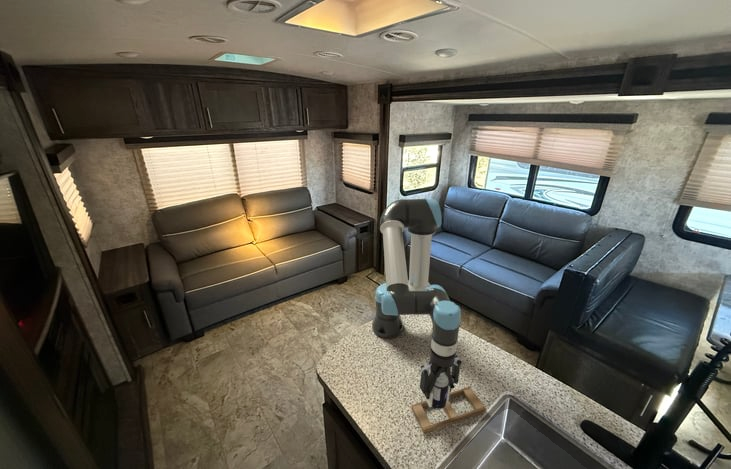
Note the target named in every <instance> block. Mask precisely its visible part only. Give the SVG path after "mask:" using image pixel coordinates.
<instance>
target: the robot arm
mask: <svg viewBox="0 0 731 469" xmlns="http://www.w3.org/2000/svg"><path fill="white" fill-rule="evenodd" d="M441 226H442V211H441V207H440V204H439V202H438V201H437V200H436V199H433V198H413V199H410V198H409V199H402V198H401V199H397V200H395V201H392V202H390V204H388V205H387V207H386V208H385V209H384V210H383V212H382V213H381V216H380V219H379V230H380V233H381V234H382V239H383V242H382V243H383V252H384V253H383V256H384V269H385V270H384V271H385V283H382V284H380V285H379V286H378V287H377V288H376V290H375V296H374V299H375V315H374V317H373V318H372V319H373V320H372V323H371V329H372V331H373V333H374V334H375V335H376V336H377V337H379V338H382V339H395V338H398V337H399V336H400V335H401V334H402V333H403V331H404V323H403V319H402V318H401V316H409V315H411V316H413V315H414V316H415V315H416V316H418V315H420V316H423V315H425V316H426V315H429V317H430V320H431V322H432V330H431V337H430V338H431V339H430V349H429V351H430V352H429V362H428V364H427V365H424V364H422V365H421V366H420V370H421V374H420V380H419V388H420V391H421V393H422V394H423V395H424V397H425V401H427V403H428V407H429V408H432V407H433V406H432V401H433V392H432V389H433V387H434V384H435V382H436V380H437V378H439V376H440V374H441V373H445V374H446V376H447V377H448V380H449V385H448V392H447V400H446V402H448V401H449V400H450V399H449V394H450V393H451V392H453V391H452V389H455V387H456V386H455V385H454V384H459V378H460V369H461V366H462V363H463V361H462V360H461V358H460V357H459V356H458V355H457V354H456V353H457V345H458V338H459V332H460V326H461V325H460V324H461V320H462V310H461V308H460V306H459V305H457V304H456V303H455V302H453V301H451V300H450V297H449V295H448V293H447V292H446V290H445V289H444V288H443V286H441V285H439V284H431V283H430V282H429V274H430V264H431V262H430V260H431V249H432V237H433V235H435V234H436V232H437V228H439V227H441ZM405 229H407V233H409V234H410V252H409V270H407V268H408V267H407V261H406V250H405V243H404V236H403V232H404V231H405ZM408 271H409V272H408ZM408 273H409V274H408ZM449 402H450V401H449Z"/></svg>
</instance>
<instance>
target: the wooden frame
mask: <svg viewBox="0 0 731 469" xmlns="http://www.w3.org/2000/svg"><path fill="white" fill-rule="evenodd" d="M462 395H463V396H464V398H465V399H466V401H467V402H468V404H469V405H470V407H471V408H472V409H473V410H471V411H468V412H465V413H461V414H460V415H458V413H457V412H456V410H455V409H454V407H453V406H452V404H451V402H450V401H448V402H446V405H445V407H444V408H442V409H443V411H444V412H445V414H446V416H447V419H445V420H443V421H438V422H436V423H431V421H430V419H429V417H428V416H427V414H426V411H425V409H424V408H425V407H429V405H428V403H427V401H426V400H424V401H421V402H420V401H419V402H417V403H414V404H411V408H410V409H411V411H412V413H413V415H414V418H415V419H416V421H417V424H418V425H419V428H420V430H421V432H422V434H423V435H424V434H428V433H430V432H434V431H436V430H439V429H441V428H445V427H447V426H450V425H453V424H456V423H458V422H462V421H464V420H467V419H470V418H472V417H475V416H478V415H481V414H484V413H486V410H487V407H486V406H485V405H484V404H483V402H482V401H481V399H480V398H479V397H478V395H477V394H476V393H475V392H474V390H473V388H472V387H471V386H467V387H464V388H461V389H457V390H454V391H451V392H450V394H449V400H450V399H452V398H455V397H459V396H462Z"/></svg>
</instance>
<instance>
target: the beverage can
mask: <svg viewBox="0 0 731 469" xmlns="http://www.w3.org/2000/svg"><path fill="white" fill-rule="evenodd" d="M448 385H449V380H448V377H447V376H446V374H445V373H441V374H440V376H439V378H437V380H436V382H435V384H434V387H433V389H432V392H433V401H432V407H433V408H434V409H437V410H441V409H443V408H444V407H445V405H446V400H447V392H448Z"/></svg>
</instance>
